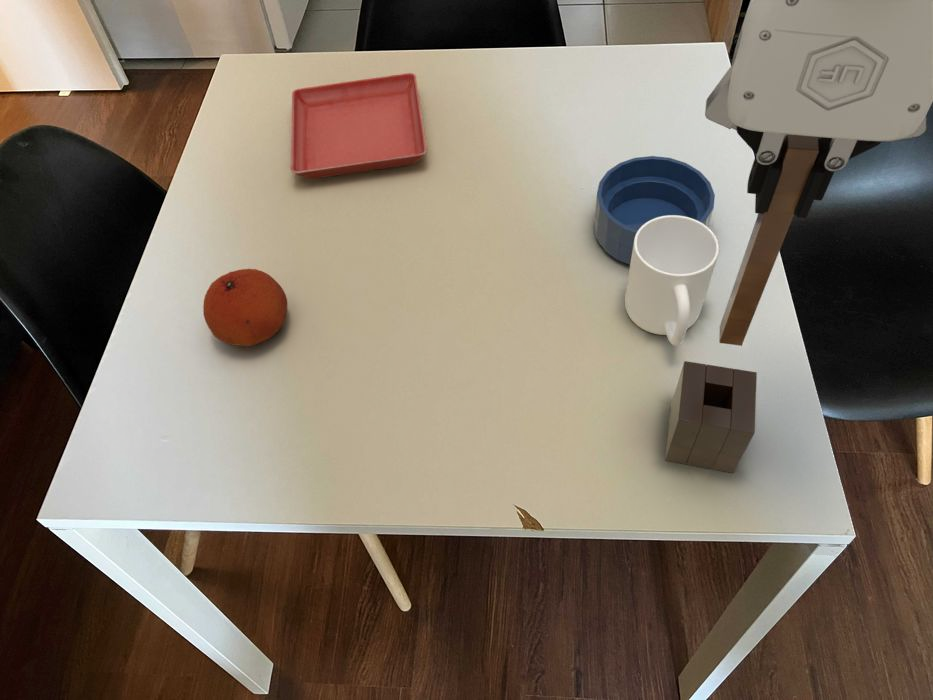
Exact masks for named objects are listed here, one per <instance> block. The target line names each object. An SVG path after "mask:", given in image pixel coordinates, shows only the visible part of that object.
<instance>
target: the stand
mask: <svg viewBox="0 0 933 700" xmlns="http://www.w3.org/2000/svg"><path fill="white" fill-rule="evenodd" d="M757 375H758V374H757V371H751V370H745V369H739V368H738V369H737V368H732V367H731V368H730V367H726V366H725V367H724V366H719V365H712V364H705V363H700V362H695V361H694V362H693V361H688V360H687V361H686V360H684V362H683V364H682V368H681V370H680V374H679V378H678V380H677V384H676V387H675V390H674V394H673V398H672V400H671V404H670V409H669V410H670V411H669V421H668V429H667V438H666V448H665V457H664V460H665V461H666V462H672V463H677V464H682V465H687V466H692V467H693V466H694V467H699V468H704V469H709V470H715V471H719V472H724V473H729V474H734V473H735V471H736V470H737V467H738V465H739V463H740V462H741V460H742V458H743V456H744V454H745V453H746V451H747V449H748V447H749V444H750V443H751V441H752V439H753V437H754V435H755V433H756V404H757V377H758V376H757Z"/></svg>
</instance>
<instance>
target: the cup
mask: <svg viewBox="0 0 933 700" xmlns="http://www.w3.org/2000/svg"><path fill="white" fill-rule="evenodd" d="M719 254H720V245H719V241H718V238H717V236H716V234H715V233H714V232H713V230H711V229H710V227H709V226H708V227H707V226H706V225H704V224H703V223H701V222H699V221H697V220H695V219H692V218H689V217H685V216H678V215H668V216H661V217H657V218H654V219H652V220H650V221H648V222H647V223H645V224H644V225H643V226H642V227H641V228H640V229H639V230H638V231H637V233H636V235H635V238H634V245H633V251H632V257H631V263H630V265H629V269H628V276H627V282H626V288H625V295H624V307H625V311H626V313H627V315H628V317H629V318H630V320H631V321H632V322H633V323H634V324H635V325H636V326H637V327H638V328H640V329H642V330H644V331H646V332H648V333H651V334H655V335H661V336H666V337H667V340H668V342H669V343H670V344H671V345H672V346H676V347H677V346H680V345H682V343H683V342H684V340H685V338H686V335H687V330H688V329H689V328H690V327H692V326H693V325H694V324H695V323H696V322H697V320H698V318H699V317H700V315H701V311H702V309H703V306H704V304H705V299H706V296H707V293H708V290H709V287H710V284H711V280H712V278H713V273H714V270H715V267H716V263H717V260H718V258H719Z"/></svg>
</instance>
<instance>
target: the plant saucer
mask: <svg viewBox="0 0 933 700" xmlns="http://www.w3.org/2000/svg"><path fill="white" fill-rule="evenodd" d="M420 101H421V100H420V95H419V88H418V79H417V75H416V74H415V73H413V72H407V73H400V74H392V75H391V74H390V75H386V76H379V77H371V78H364V79H357V80H350V81H343V82H336V83H329V84H323V85H321V84H320V85H316V86H309V87H302V88H296V89H294V90H293V91H292V93H291V127H290V128H291V130H290V131H291V135H290V139H291V140H290V171H291V173H292V174H294V175H296V176H299V177H301V178H302V177H303V178H308V179H320V178H327V177H333V176H340V175H347V174H353V173H355V174H356V173H361V172H368V171H374V170H382V169H389V168H396V167H402V166H410V165H413V164H415V163H417V162H418V161H419V160H421V159H423V157H425V155H426V154H427V152H428V148H427V142H426V135H425V128H424V122H423V115H422V114H423V113H422V108H421V102H420Z"/></svg>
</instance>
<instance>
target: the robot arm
mask: <svg viewBox="0 0 933 700" xmlns="http://www.w3.org/2000/svg"><path fill="white" fill-rule="evenodd" d="M731 60H732V61H731V65H730V67H729V68H728V69H727V71H726V72H725V74H724V75H723V76H722V78H720V80H719V82H718V83H717V84H716V86H715V87H714V89H713V90H712V91H711V93H710V94H709V95H708V97H707V98H706V101H705V110H704V116H705V118H706V119H707V120H708V121H710V122H713V123H715V124H717V125H720V126H722V127H723V128H727V129H728V130H731V129H732V130H735V131H736V133H737V134H738V136H739V137H740V138H741V139H742V140H743V141H744V142H745V144H746V145H747V146H748V148H749V149H751V150H752V151H753V153H754V154H755V155H754V158H753V162H752V165H751V169H750V171H749V176H748V179H747V187H746V188H747V189H746V194H751V195H755V199H754V201H755V202H754V205H755V206H754V213H755V214H757V215H758V214H764V212H768V209H769V207H770V204H771V201H772V198H773V195H774V193H775V190H776V187H777V184H778V181H779V179H780V176H781V173H782V169H783V164H782V143H783V140H784V138H785V135H786V134H790V135H801V136H813V137H818V141H819V153H818V155H817V158H816V160H815V163H814V165H813V167H812V168H811V171H810V173H809V176H808V178H807V181H806V183H805V186H804V188H803V191H802V193H801V196H800V198H799V201H798V203H797V206H796V208H795V211H794V216H796V218H797V219H807V217H808V215H809V213H810V210H811V208H812V206H813V204H814V201H823V199H824V197H825V195H826V192H827V190H828V187H829V186H830V183H831V181H832V179H833V176H834V174H835V172H838V171H841V170H843V169H844V168H845V167H846V166H847V164H848V162H849V160H851V159H853V158H855V157H857V156H859V155H861V154H863V153H865V152H867V151H869V150H871V149H873V148H876V147H877V146H879V145H881V143H882V142H886V143H890V142H896V141H900V140H906V139H907V140H908V139H912V138H916V137H920V136H922V135H923V134H925V132H926V130H927V114H928V112H929V111H930V108H931V106H932V104H933V0H750V1H749V4H748V7H747V10H746V13H745V16H744V19H743V22H742V26H741V29H740V31H739V35H738V39H737V42H736V45H735V48H734V52H733V56H732V59H731Z"/></svg>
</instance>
